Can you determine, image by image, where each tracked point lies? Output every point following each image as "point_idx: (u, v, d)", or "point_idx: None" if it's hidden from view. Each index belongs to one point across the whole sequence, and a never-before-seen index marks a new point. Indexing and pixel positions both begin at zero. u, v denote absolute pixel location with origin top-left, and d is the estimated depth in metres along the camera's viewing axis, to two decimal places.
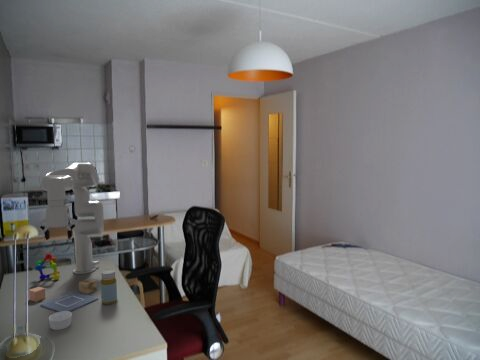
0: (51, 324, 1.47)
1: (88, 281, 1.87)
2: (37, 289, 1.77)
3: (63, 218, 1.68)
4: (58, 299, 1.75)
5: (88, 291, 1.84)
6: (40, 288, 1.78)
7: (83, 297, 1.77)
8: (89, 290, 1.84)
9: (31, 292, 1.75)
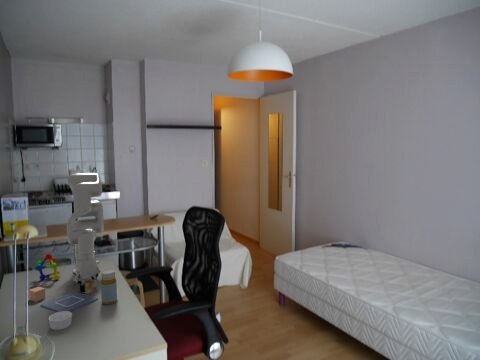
0: (51, 324, 1.47)
1: (88, 281, 1.87)
2: (37, 289, 1.77)
3: (95, 268, 1.88)
4: (58, 299, 1.75)
5: (88, 291, 1.84)
6: (40, 288, 1.78)
7: (83, 297, 1.77)
8: (89, 290, 1.84)
9: (31, 292, 1.75)
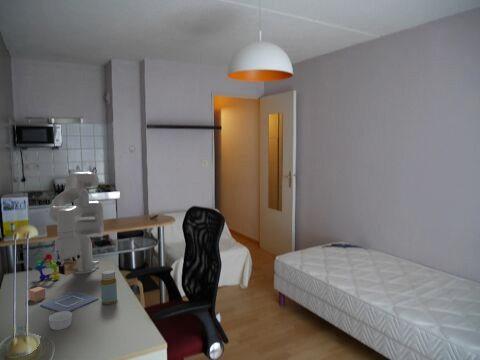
0: (51, 324, 1.47)
1: (69, 262, 1.71)
2: (37, 289, 1.77)
3: (76, 248, 1.72)
4: (58, 299, 1.75)
5: (68, 272, 1.68)
6: (40, 288, 1.78)
7: (83, 297, 1.77)
8: (69, 272, 1.69)
9: (31, 292, 1.75)
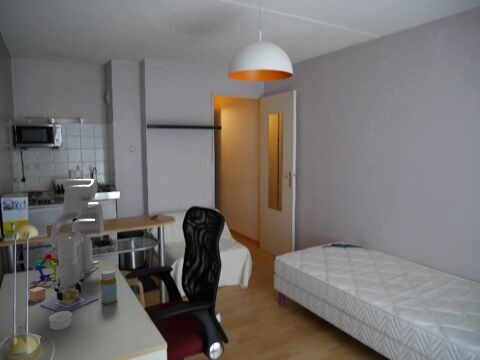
0: (51, 324, 1.47)
1: (70, 291, 1.73)
2: (37, 289, 1.77)
3: (77, 274, 1.73)
4: None
5: (69, 302, 1.69)
6: (40, 288, 1.78)
7: (83, 297, 1.77)
8: (70, 301, 1.70)
9: (31, 292, 1.75)
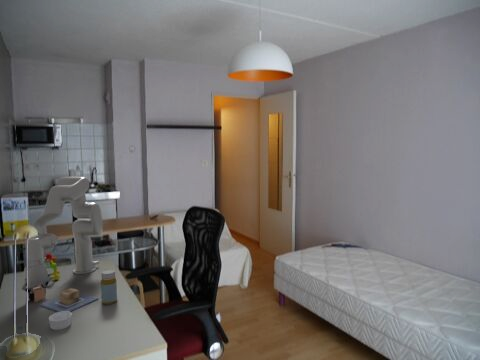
0: (51, 324, 1.47)
1: (70, 291, 1.73)
2: (37, 289, 1.77)
3: (45, 275, 1.78)
4: (58, 299, 1.75)
5: (69, 302, 1.69)
6: (40, 288, 1.78)
7: (83, 297, 1.77)
8: (70, 301, 1.70)
9: None
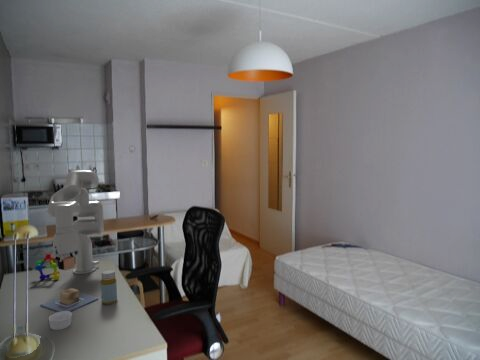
0: (51, 324, 1.47)
1: (70, 291, 1.73)
2: (66, 257, 1.71)
3: (74, 243, 1.72)
4: (58, 299, 1.75)
5: (69, 302, 1.69)
6: (69, 257, 1.72)
7: (83, 297, 1.77)
8: (70, 301, 1.70)
9: None
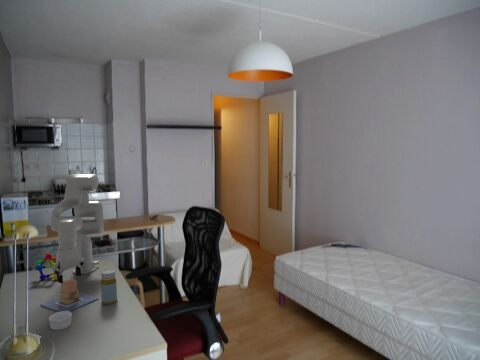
0: (51, 324, 1.47)
1: None
2: (69, 281, 1.72)
3: (77, 257, 1.75)
4: (58, 299, 1.75)
5: (69, 302, 1.69)
6: (72, 280, 1.73)
7: (83, 297, 1.77)
8: (70, 301, 1.70)
9: (63, 284, 1.70)
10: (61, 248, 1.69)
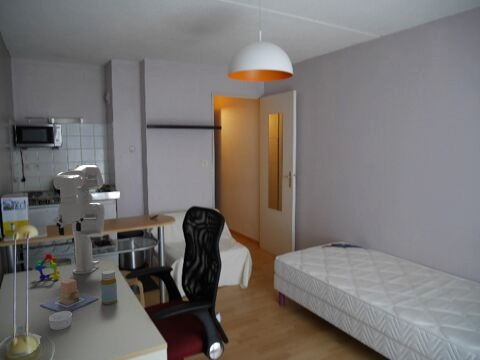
0: (51, 324, 1.47)
1: None
2: (69, 281, 1.72)
3: (77, 213, 1.87)
4: (58, 299, 1.75)
5: (69, 302, 1.69)
6: (72, 280, 1.73)
7: (83, 297, 1.77)
8: (70, 301, 1.70)
9: (63, 284, 1.70)
10: (63, 202, 1.81)
